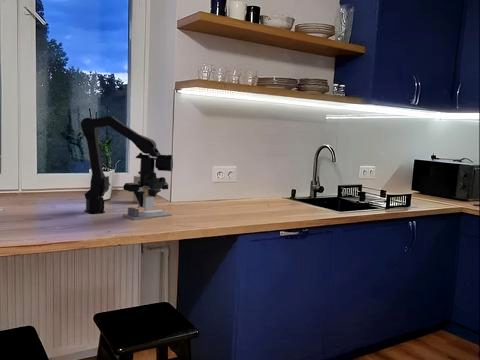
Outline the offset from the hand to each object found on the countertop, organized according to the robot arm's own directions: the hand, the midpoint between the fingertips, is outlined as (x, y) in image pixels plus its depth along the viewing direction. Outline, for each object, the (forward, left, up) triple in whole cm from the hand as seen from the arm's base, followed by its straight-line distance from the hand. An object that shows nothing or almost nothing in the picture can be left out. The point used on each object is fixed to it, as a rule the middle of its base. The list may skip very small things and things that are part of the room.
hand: (145, 206), depth 184 cm
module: (0, 0, -1) cm, 1 cm away
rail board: (+1, 0, -4) cm, 4 cm away
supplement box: (+15, +25, -4) cm, 30 cm away
